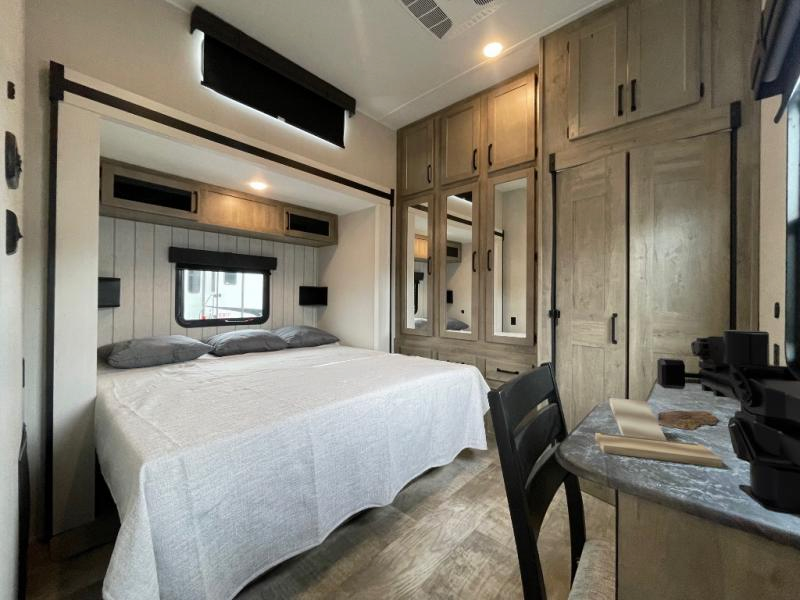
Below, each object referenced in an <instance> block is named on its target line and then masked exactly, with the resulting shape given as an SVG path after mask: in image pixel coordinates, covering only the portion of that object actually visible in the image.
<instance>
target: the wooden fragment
mask: <svg viewBox="0 0 800 600" xmlns="http://www.w3.org/2000/svg"><path fill="white" fill-rule="evenodd" d="M657 417H658V418H657V423H658V424H659V426H660V427H666V428H670V429H677V430H682V431H691V432H694V431H695V430H697V428H701V427H702V426H704V425H706V426H713V425H717V422H719V423H720V422H721V420H720V419H719V418H717V416H715V415H713V414H712V413H711V412H709V411H707V410H701V411H700V410H694V411H693V410H690V411H688V410H687V411H686V410H685V411H684V410H682V411H681V410H679V411H678V410H675V411H672V410H671V411H661V412H659V413H658V416H657Z"/></svg>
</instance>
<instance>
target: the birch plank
mask: <svg viewBox="0 0 800 600" xmlns="http://www.w3.org/2000/svg"><path fill="white" fill-rule="evenodd" d="M608 404H609V407H610V408H611V411H612V413H613V416H614V419H615V421H616V425H617V426H618V429H619V432H620V434H621V436H630V437H639V438H648V439H657V440H666V441H668V440H667V438H666V436H665V434H664V432H663V430H662V428H661V426H659V424H658V420H657V419H656V417H655V415H654V414H653V411H652V409H651V408H650V406H649V404H648V402H647V401H646V400H640V399H639V400H637V399H627V398H625V399H624V398H617V397H616V398H614V397H610V398H609V400H608Z"/></svg>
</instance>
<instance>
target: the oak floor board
mask: <svg viewBox="0 0 800 600" xmlns="http://www.w3.org/2000/svg"><path fill="white" fill-rule="evenodd" d="M595 441H596V442H597V445H598V446H599V447H600V449H601V450H602V453H604V454H605V453H606V454H613V455H620V456H621V455H622V456H629V457H637V458H643V459H644V458H645V459H654V460H659V461H660V460H661V461H668V462H676V463H684V464H692V465H698V466H706V467H707V466H708V467H715V468H716V467H717V468H723V458H721V457H720V456H719V455H716V454H715V453H714V452H713V451H711V450H710V449H709V448H707V447H706V446H705V445H703V444H701V443H700V444H699V443H692V442H682V441H674V440H673V441H672V440H667V441H666V440H657V439H648V438H639V437H630V436H622V435H619V434H612V433H604V432H603V433H602V432H600V433H599V432H595Z"/></svg>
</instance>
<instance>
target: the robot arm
mask: <svg viewBox="0 0 800 600" xmlns="http://www.w3.org/2000/svg"><path fill="white" fill-rule="evenodd" d="M722 333H723V334H722V336H717V335H716V336H715V335H712V336H708V337H696V340H693V341H692V342H691V344H690V346H691V353H692V355H693V356H695V357H699V359H700V360H698V368H699V371H698V372H695V371H694V372H693V371H692V372H691V371H686V364H685V362H684V360H682V359H679V358H663V357H662V358H661V357H660V358H659V359H657V360H656V361H657V362H656V363H657V368H656V369H657V370H656V372H657V377H656V379H657V385H659V386H660V387H661V388H663V389H670V390H671V389H672V390H673V389H674V390H685V387H686V384H696V385H701V391H703V392H710V393H711V392H713V393H712V394H713V396H715V397H717V398H718V397H719V398H729V399H731V400H733V401H735V402H738V403H740V410H736V411H735V412H734V416H732V417H730V418H729V420H728V423H727V428H728V432H729V437H730V442H731V445H732V449H733V453H734V454H735V455H736V458H737V459H738V460H740V461H744V462H747V463H748V464H749V485H745V484H738V489H740V490H741V491H742V492H744V493H745V494H746V495H747V496H749V498H752V500H753V501H755V502H756V503H757V504H759V505H760V506H761V507H762V508H764V509H766V510H770V511H771V510H772V511H776V512H777V511H778V512H783V513H791V514H797V515H800V377H799V376H798V375H797V373H796V372H795V371H794V370H793V368H791V367H790V366H787V365H775V364H771V363H770V333H769V332H768V331H761V330H748V329H747V330H746V329H745V330H744V329H741V330H739V329H723V331H722Z"/></svg>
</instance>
